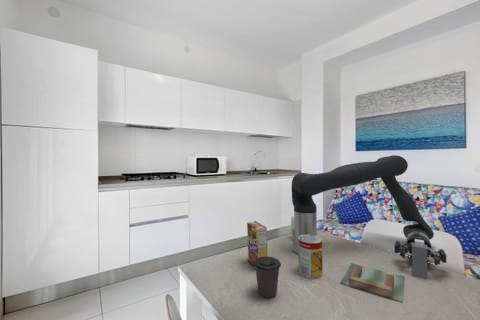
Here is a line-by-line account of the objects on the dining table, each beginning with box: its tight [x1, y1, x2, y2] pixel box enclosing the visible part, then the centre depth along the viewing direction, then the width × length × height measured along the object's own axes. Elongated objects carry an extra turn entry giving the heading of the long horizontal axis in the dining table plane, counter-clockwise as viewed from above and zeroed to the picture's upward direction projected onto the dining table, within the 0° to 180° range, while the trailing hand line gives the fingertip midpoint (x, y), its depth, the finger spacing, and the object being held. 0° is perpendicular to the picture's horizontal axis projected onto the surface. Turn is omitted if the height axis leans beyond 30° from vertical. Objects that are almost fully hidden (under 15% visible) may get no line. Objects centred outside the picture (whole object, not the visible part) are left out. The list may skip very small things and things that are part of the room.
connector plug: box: [411, 239, 428, 280], centre depth 76 cm, size 4×4×12 cm
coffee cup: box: [253, 256, 282, 300], centre depth 67 cm, size 8×8×10 cm
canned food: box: [298, 235, 323, 280], centre depth 79 cm, size 8×8×12 cm
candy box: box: [246, 220, 269, 266], centre depth 85 cm, size 9×4×15 cm, turn 23°
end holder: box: [339, 263, 405, 303], centre depth 73 cm, size 16×16×2 cm
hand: (419, 258), depth 75 cm, fingers open, 8 cm apart
